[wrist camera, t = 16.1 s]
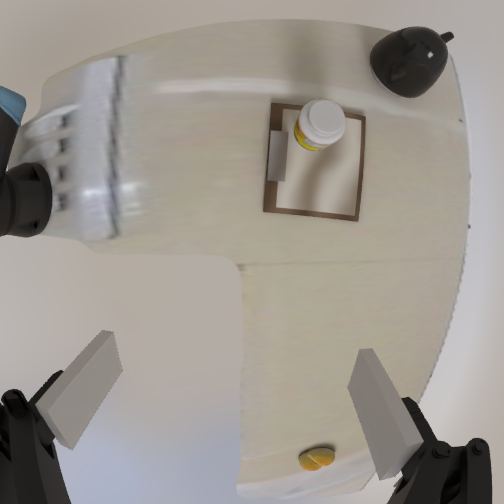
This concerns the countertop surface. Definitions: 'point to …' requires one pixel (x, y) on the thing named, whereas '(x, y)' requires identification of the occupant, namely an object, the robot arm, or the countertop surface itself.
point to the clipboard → (314, 169)
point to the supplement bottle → (319, 125)
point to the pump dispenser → (409, 60)
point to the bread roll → (316, 458)
